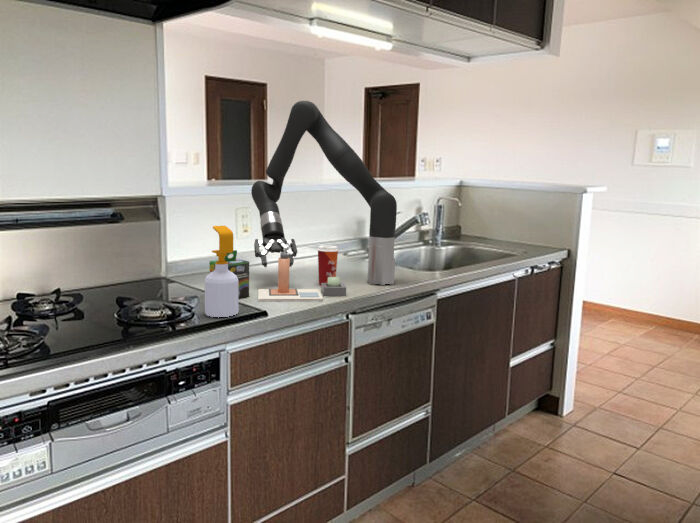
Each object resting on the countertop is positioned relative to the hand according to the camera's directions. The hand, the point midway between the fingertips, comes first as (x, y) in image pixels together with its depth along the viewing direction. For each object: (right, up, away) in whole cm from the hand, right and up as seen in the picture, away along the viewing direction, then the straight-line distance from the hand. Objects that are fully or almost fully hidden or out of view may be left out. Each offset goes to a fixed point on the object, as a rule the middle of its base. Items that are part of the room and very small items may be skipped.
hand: (278, 265), depth 191 cm
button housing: (+18, -9, -2) cm, 21 cm away
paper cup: (+16, -7, +11) cm, 21 cm away
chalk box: (-14, -10, -10) cm, 20 cm away
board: (+5, -10, -7) cm, 13 cm away
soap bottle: (-12, -13, -32) cm, 37 cm away
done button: (+18, -8, -2) cm, 20 cm away
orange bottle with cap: (+2, -8, -6) cm, 10 cm away
